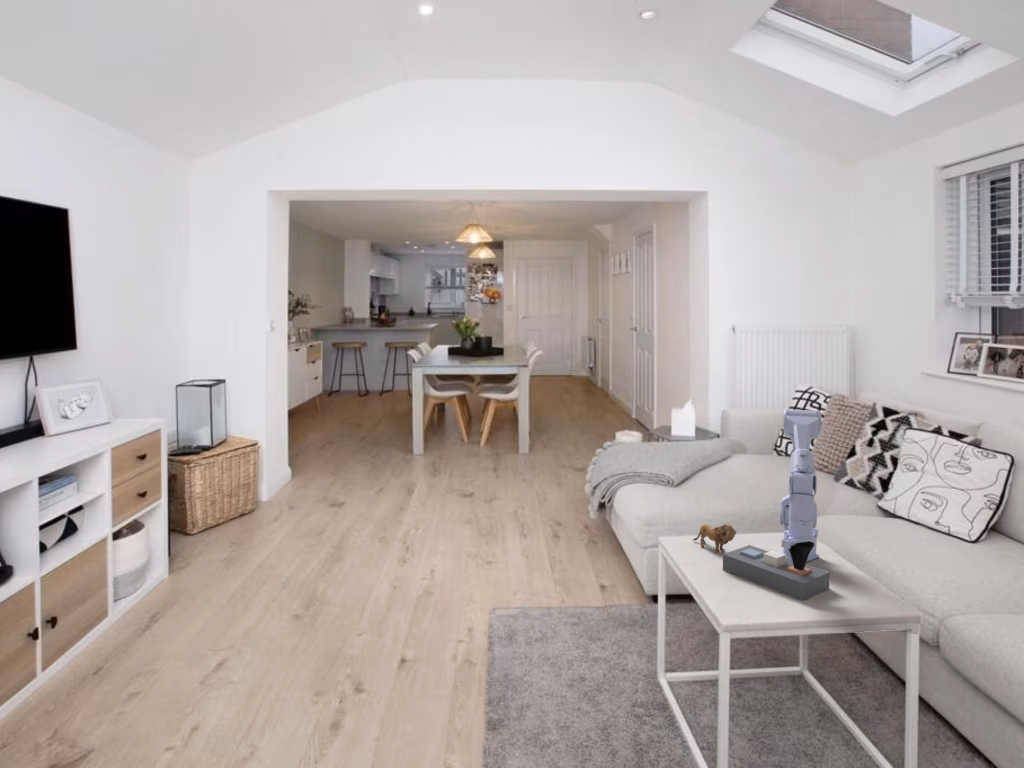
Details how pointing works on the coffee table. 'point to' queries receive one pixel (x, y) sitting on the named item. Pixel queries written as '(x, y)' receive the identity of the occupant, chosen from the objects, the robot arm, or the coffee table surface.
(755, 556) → the blue key
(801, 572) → the red key
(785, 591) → the key housing
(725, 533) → the lion figurine
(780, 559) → the white key
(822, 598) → the coffee table surface
